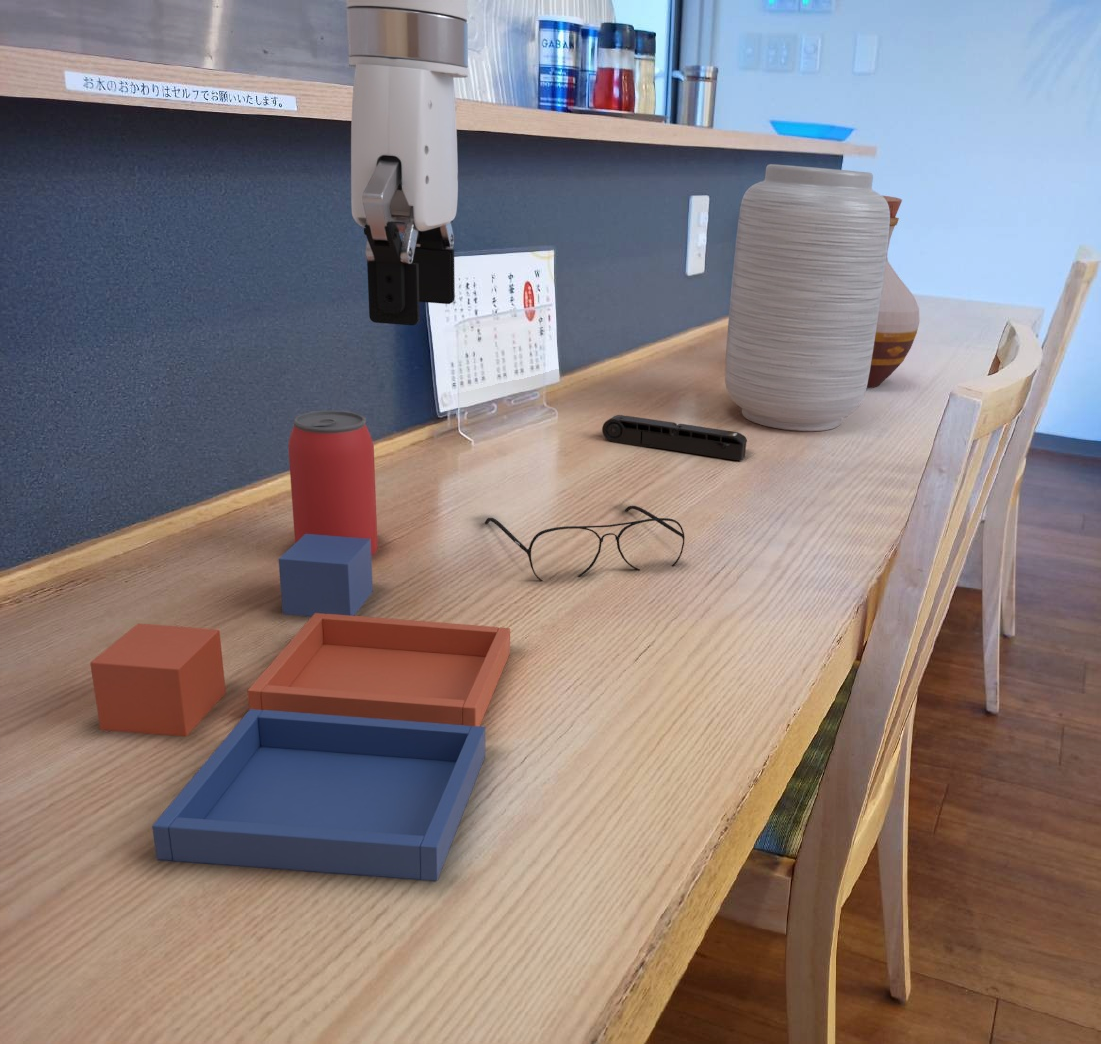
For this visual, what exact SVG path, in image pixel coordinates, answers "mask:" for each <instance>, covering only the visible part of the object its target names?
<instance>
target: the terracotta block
mask: <svg viewBox="0 0 1101 1044" xmlns="http://www.w3.org/2000/svg"><path fill="white" fill-rule="evenodd" d="M220 634H221V633H220V629H214V628H203V627H202V628H201V627H191V626H190V627H189V626H188V627H186V626H177V625H166V624H165V625H163V624H151V623H136V624H135V625H134V626H133V627H132V628H131V629H129V630H128V631H127V632H126V633H124V634H123V635H122V636H121V637H120V638H118V639H117V640H115V642H113V643H112V644H110V646H108V647H107V648H106V649H104V650H103V651H102V652H101V653H100V654H98V656H97V657H95V658H94V659H93V660H91V661H90V663H89V664H90V671H91V677H92V684H93V690H94V697H95V703H96V710H97V715H98V721H99V729H100V731H109V732H122V733H137V734H147V735H160V736H161V735H163V736H176V737H187V736H188V735H189V734H191V732H192V731H193V730H194V729H195V727H197V726H198V724H199V723H200V722H201V721H202V720H203V718H205V717H206V715H207V714H208V713H209V712H210V711H211V710H212V709H213V708H214V706H216V704H217V703H218V702H219V701H220V700H221V699H222V698H223V697H224V695H226V693H227V691H226V682H225V673H224V661H223V653H222V642H221V635H220Z"/></svg>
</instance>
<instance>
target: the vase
mask: <svg viewBox="0 0 1101 1044" xmlns="http://www.w3.org/2000/svg"><path fill="white" fill-rule="evenodd" d="M873 181H874V174H873V173H872V172H870V171H869V172H868V171H858V170H848V169H847V170H846V169H835V168H823V167H812V166H800V165H786V164H773V163H770V164H767V165H766V167H765V176H764V180H762V181H758V182H756V183H754V184H752V185H751V186H750V187H748V189H747V190H746V191H745V193H744V194H743V197H742V199H741V202H740V207H739V214H738V220H737V228H736V237H735V247H734V256H733V266H732V277H731V289H730V298H729V299H730V300H729V310H728V311H729V312H728V323H727V336H726V349H725V363H724V364H725V367H724V381H725V383H724V384H725V388H726V390H727V393H728V395H729V398H730V399H731V400H732V401H733V402H734V403H735V405H737V406H738V407H739V408H741V414H742V416H743V417H744V418H745V419H747V420H748V421H750V422H752V423H755V424H758V425H761V426H764V427H768V428H772V429H778V430H785V431H793V432H794V431H795V432H822V431H828V430H829V431H830V430H833V429H835V428H838V427H839V426H840V425H841V424H842V421H843V419H844V418H847V417H849V416H850V415H851V414H853V413H855V411H857V409H858V408H859V407H860V405H862V402H863V401H864V399H865V396H866V392H867V389H868V388H867V384H868V378H869V373H870V367H871V361H872V354H873V348H874V341H875V335H876V328H877V321H878V313H879V306H880V299H881V292H882V285H883V277H884V270H885V262H886V254H887V255H888V253H887V247H888V236H889V225H890V211H889V206H888V203H887V201H886V200H885V198H884V197H883V196H884V195H882V194H880V193H879V192H877V191H875V190H873ZM888 248H889V247H888Z"/></svg>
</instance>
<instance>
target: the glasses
mask: <svg viewBox="0 0 1101 1044" xmlns="http://www.w3.org/2000/svg"><path fill="white" fill-rule="evenodd" d="M631 510H635V511H638V512H640V513H642V514H644V515H645V516H647V517H649V518H645V519H640V520H635V521H627V522H621V523H615V524H614V523H613V524H604V525H578V526H577V525H576V526H575V525H574V526H573V525H572V526H569V525H568V526H567V525H566V526H557V527H551V528H545V529H544V530H540V531H538V532H537V533H536V534H535V535H534V536H533V537H532V538H531V539H532V540H531V542H530V544H529V546H528V548H527V547H526V546H525V545H524V544H523V543H522V542H521V541H520V540H519V539H517V537H516V536H515V535H514V534H513V533H512V532H510V530H509V529H507V527H505V526H504V524H502V523H501V522H500V521H498V519H496V518H494V517H487V518H486V520H485V521H484V524H486V525H487V524H489V523H490V522H491V523H493V524H495V525H496V526H497V527H498V528H499V529H500V530H501V531H502V532H503V533H504V534H505V535H506V536H507V537H508V538H509V539H511V541H512V542H513V543H515V545H517V546H518V547H519V548H520V549H521V550H522V551H524V552H525V553H526V554H527V558H528V562H529V564H530V568H531V571H532V573H533V574H534V576H535V577H536V578H537V580H539V581H540V582H544V580H543V579H542V578H540V577H539V576H538V575H537V573H536V571H535V570H534V565H533V561H532V549H533V548H532V547H533V545H534V543H535V541H536V540H537V539H538V538H539V537H540V536H542V535H545V534H546V533H547V534H548V533H550V532H554V531H560V530H570V529H571V530H573V529H575V530H576V529H577V530H578V529H579V530H585V531H589V532H592V533H593V534H594V535H595V536H596V537H597V538H598V540H599V543H598V550H597V552H596V554H595V556H594V558H593V560H592V561H591V562H590V564H589V565H588V567H586V568H585V570H584V571H582V572H581V573H580V574H578V575H577V578H581V577H582V576H584V575H585V574H586V573H587V572H589V570H590V569H592V567H593V566H594V564H596V561H598V560H597V559H598V558H599V555H600V553H601V550H602V543H603V542H604V538H605V537H607V536H614V538H615V541H616V547H617V548H616V549H617V551H618V552H619V554H620V556H621V558H622V559H623V560H624V562H625V564H627V565H628V566H630V567H631V568H632V569H635V570H636V571H641V569H640V568H638V567H636V566H634V565H632V564H631V563H630V562H629V561H628V560H627V559H626V557H625V555H624V554H623V552H622V550H621V546H620V544H621V543H620V538H621V536H622V535H623V533H624V532H625V531H626V530H627V529H629V528H631V527H633V526H635V525H638V524H642V523H648V522H657V523H658V524H660V525H661V526H662V527H664V528H666V529H668V530H669V531H671V532H673V534H676V535H678V536H679V537H681V539H682V544H681V547H680V548H681V549H680V552H679V554H678V557H677V558H676V560H675V561H674V562H673V564H672V565H671V567H675V566H676V565H677V563H678V561H679V560H680V559H681V556H682V554H683V551H684V546H685V532H684V528H683V527H682V525H681V523H680V522H678V521H677V520H676V519H673V518H668V517H657V516H656V515H654V514H652V513H651V512H649V511H648V510H646V509H644V508H643V507H640V506H637V505H629V506H627V507H626V508H625V509H624V511H625V512H629V511H631ZM667 522H673V523H675V524H676V525H678V527H679V529H680V531H679V530H678V529H676V528H674V527H673V526H671V525H670V524H668V523H667ZM619 526H624V527H623V528H622V529H621V530H620V531H619V533H618V534H615V533H612V532H609V533H605V534H603V535H602V536H601V537H600V534H599V533H598V532H596V531H595V530H593V529H594V528H611V527H619ZM592 528H593V529H592Z"/></svg>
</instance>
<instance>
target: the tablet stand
mask: <svg viewBox="0 0 1101 1044" xmlns="http://www.w3.org/2000/svg"><path fill="white" fill-rule="evenodd" d="M601 431H602V432H601V433H602V435H603V437H604V438H605V439H606V440H607V441H608V442H611V443H618V444H619V443H620V444H625V445H631V446H639V447H643V448H644V447H645V448H649V447H650V448H656V449H662V450H668V451H676V452H681V453H688V454H693V455H694V454H695V455H700V456H707V457H713V458H719V459H726V460H732V461H743V460H744V458H746V451H747V443H748V440H747V437H746V436H745V435H744V434H742V433H740V432H739V431H738V432H737V431H731V430H726V429H719V428H712V427H706V426H701V425H700V426H699V425H692V424H685V423H678V424H677V423H676V422H674V421H667V420H660V419H653V418H645V417H638V416H631V415H625V414H624V415H623V414H616V415H614V416H612V417H611V418H609V419H607V420H606V421H604V423H603V424H602V427H601Z"/></svg>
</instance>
